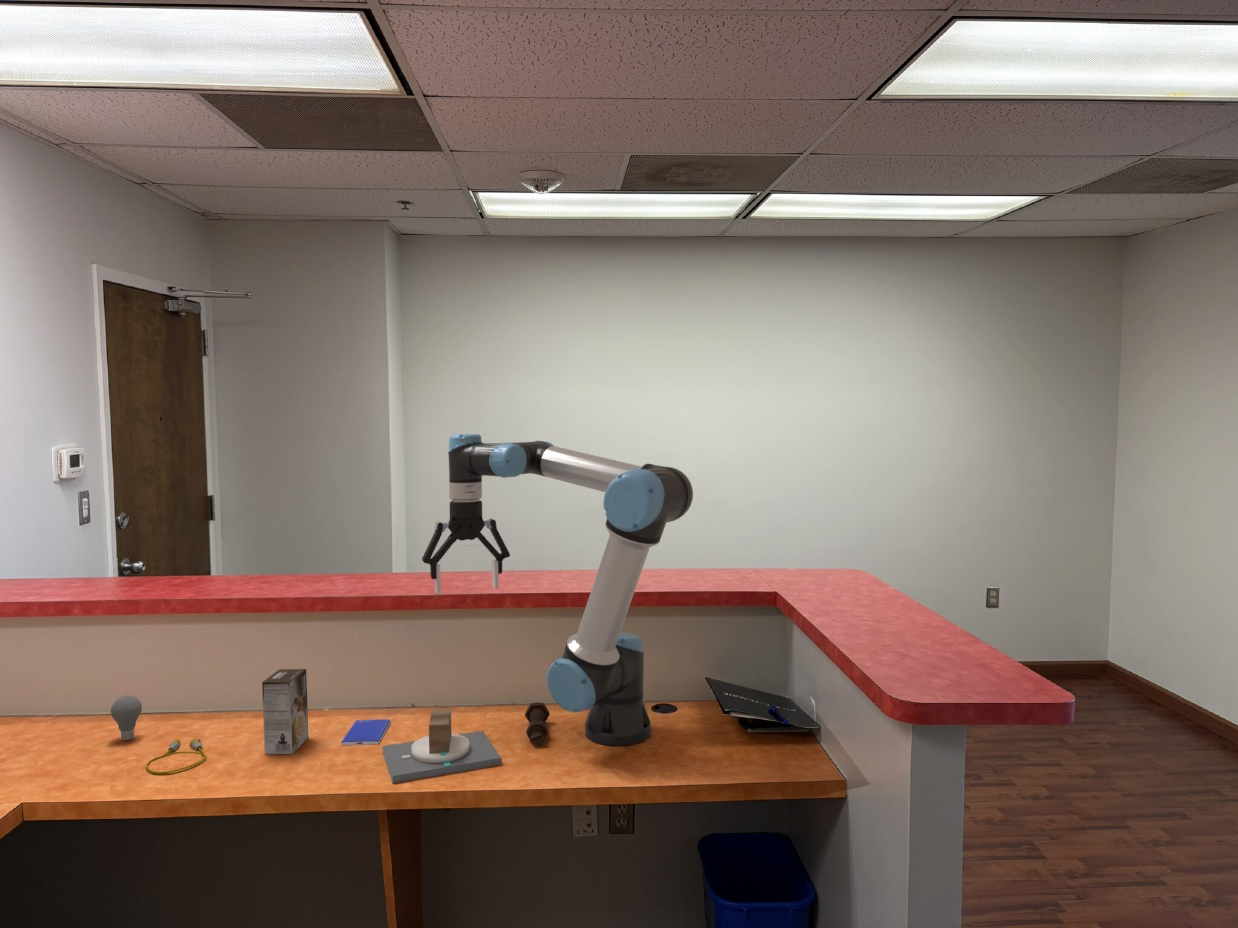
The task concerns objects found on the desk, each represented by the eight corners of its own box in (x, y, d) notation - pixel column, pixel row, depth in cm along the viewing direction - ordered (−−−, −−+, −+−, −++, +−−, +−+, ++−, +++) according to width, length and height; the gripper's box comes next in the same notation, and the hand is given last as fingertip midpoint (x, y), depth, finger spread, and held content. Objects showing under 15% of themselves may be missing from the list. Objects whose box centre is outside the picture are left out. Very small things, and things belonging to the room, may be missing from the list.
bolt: (533, 756, 179) (534, 727, 194) (553, 744, 179) (552, 717, 194) (520, 734, 178) (521, 707, 193) (540, 723, 179) (540, 696, 194)
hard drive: (355, 719, 193) (340, 740, 181) (390, 718, 193) (378, 739, 181) (355, 726, 193) (341, 747, 181) (390, 725, 194) (378, 746, 181)
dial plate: (483, 736, 185) (482, 729, 185) (501, 764, 170) (501, 756, 170) (382, 752, 177) (382, 744, 177) (392, 783, 162) (392, 774, 162)
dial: (409, 743, 177) (408, 710, 177) (465, 736, 181) (464, 703, 181) (413, 766, 166) (413, 730, 165) (473, 758, 170) (472, 723, 169)
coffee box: (280, 737, 185) (278, 668, 184) (309, 737, 185) (307, 668, 184) (263, 754, 176) (261, 681, 175) (293, 754, 176) (291, 681, 175)
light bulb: (105, 742, 182) (103, 698, 182) (129, 732, 188) (127, 690, 187) (125, 746, 180) (124, 701, 180) (149, 736, 186) (147, 693, 185)
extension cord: (229, 747, 181) (228, 738, 181) (182, 778, 165) (182, 769, 165) (177, 744, 182) (177, 736, 182) (127, 776, 167) (126, 766, 167)
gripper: (413, 504, 182) (415, 598, 184) (522, 499, 192) (522, 588, 193) (408, 500, 189) (410, 591, 191) (513, 496, 199) (514, 582, 200)
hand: (467, 590), depth 192 cm, fingers open, 13 cm apart
